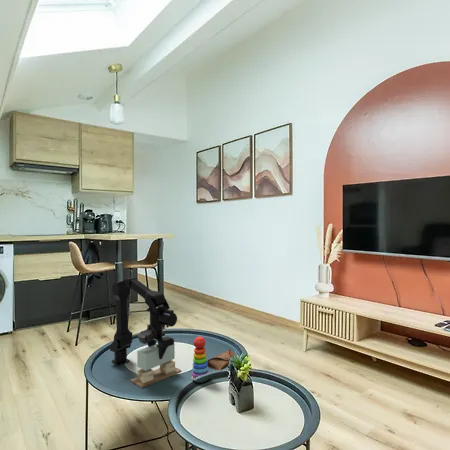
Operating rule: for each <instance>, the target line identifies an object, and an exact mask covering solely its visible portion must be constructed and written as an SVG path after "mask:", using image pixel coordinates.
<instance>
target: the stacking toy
mask: <svg viewBox="0 0 450 450" xmlns="http://www.w3.org/2000/svg"><path fill="white" fill-rule="evenodd" d="M193 345H194V347H195V348H194V349H193V351H194V353H193V359H192V360H193V362H192V371H191V380H192V379H194V378H196V377H198V376H201V375H204V374H207V373H209V374H210V371H209V367H208V366H207V365H208V362H207V361H208V358H207V353H206V350H207V349H206V348H205V346H206V339H205V338H204V337H203V336H197V337H195V338H194V340H193Z"/></svg>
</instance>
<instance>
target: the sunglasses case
mask: <svg viewBox="0 0 450 450" xmlns="http://www.w3.org/2000/svg"><path fill="white" fill-rule="evenodd" d="M234 355H236V354H235V353H234V352H233V351H232V350H231V349H228V350H227V351H224V352H222V353H219V354H218V355H216V356H214V357H212V358H209V359H207V362H208V365H207V366H208V369H212V370H215V371H219V370H220V369H222V370H223V369H225V368H227V367H228V366H229V365H228V364H229V360H230V358H231V357H232V356H234ZM220 371H221V370H220Z"/></svg>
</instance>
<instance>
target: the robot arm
mask: <svg viewBox="0 0 450 450" xmlns="http://www.w3.org/2000/svg"><path fill="white" fill-rule="evenodd" d="M111 290H112V296H113V297H114V298H115V300H116V331H115V333H114V335H113V341H112V342H111V344H110V345H109V350H110V352H113V354H114V355H113V356H114V357H113V358H114V359H112V360H111V363H113V364H115V365H117V366H119V365H120V366H121V365H122V364H126V363H128V362H130V359H128V354H127V349H130V348H131V346H132V343H133V341H134V340H133V331H130V330H129V328H128V327H129V326H128V325H129V323H128V322H129V321H128V298H129V296H130V294H131V290H133V291H134V292H135V293H136V294H138V295H139V296H140V297H142V298H143V300H144V303H145V304H146V306H148V308H147V309H146V312H148V313H149V324H147V328H146V329H145V330H142V331H140V332H139V334H137V338H138V341H139V343H141V344H143V345H146V344H147V347H149V346H152V345H155V344H158V345H156V347H158V349H159V359H162V358H163V356H164V353H165V351H166V349H167V347H168V346H171V345H174V344H175V339H174V338H173V337H171V336H165V335H166V333H165V332H164V327H165V326H167V327H174V326H175V325H176V324H177V322H178V316H177V314H176V313H175V311H174V310H173V309H170V304H169V303H168V301H167V300H166V297H165V295H164V293H162V292H160V291H158V290H157V291H156V290H152V289H150V288H149V287H148V286H147V285H146V284H144V283H143V282H141V281H140V280H139V278H137V277H128V278H126V279H124V280H122V281H117V282H114V283H113V284H112V287H111Z"/></svg>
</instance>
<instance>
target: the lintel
mask: <svg viewBox="0 0 450 450" xmlns="http://www.w3.org/2000/svg"><path fill="white" fill-rule="evenodd" d="M156 345H158V343H156V344H155V345H152V346H149V347H148V346H147V347H144V348H142V349H138V350H137V356H136V357H137V365H136V366H137V368H139V369H143V370H145V371H147V370H149V369H152V370H153V369H154V368H156V367H158V366H159V367H160V365H161V364H163V363H166V362H168V361H170V360H173V361H174V360H175V355H176V354H175V353H176V351H175V349H176V348H175V346H176V345H175V343H174V345H171V346H168V347H167V349H166V351H165V353H164V356H163V358H162V359H159V349H158V347H156Z"/></svg>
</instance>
